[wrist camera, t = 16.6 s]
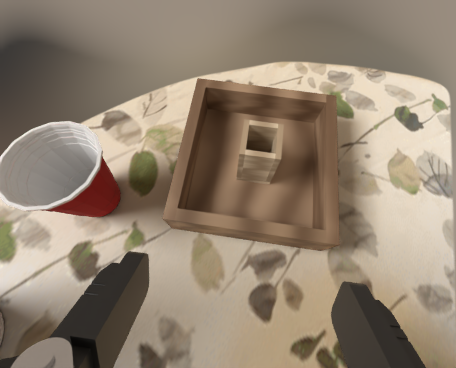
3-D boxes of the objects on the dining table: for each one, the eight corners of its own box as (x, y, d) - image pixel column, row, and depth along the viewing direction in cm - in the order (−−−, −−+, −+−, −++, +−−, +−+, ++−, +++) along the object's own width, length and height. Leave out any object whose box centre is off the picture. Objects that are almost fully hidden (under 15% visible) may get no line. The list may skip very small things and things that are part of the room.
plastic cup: (132, 157, 39) (95, 107, 27) (143, 221, 35) (105, 194, 24) (62, 174, 37) (-8, 129, 26) (65, 242, 33) (-15, 224, 22)
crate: (172, 228, 34) (162, 218, 29) (201, 104, 42) (197, 78, 37) (320, 250, 34) (339, 245, 28) (321, 120, 42) (336, 95, 36)
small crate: (236, 179, 36) (239, 153, 29) (240, 150, 38) (244, 119, 31) (269, 184, 36) (281, 159, 29) (272, 154, 38) (283, 124, 30)
